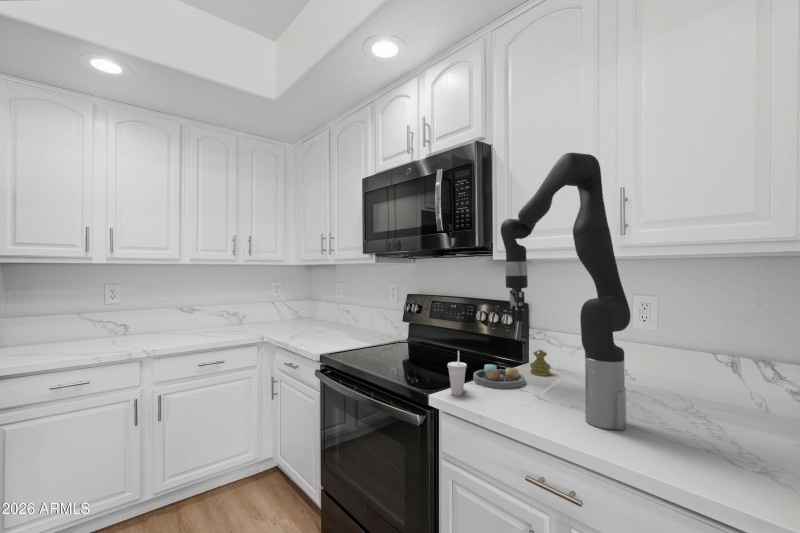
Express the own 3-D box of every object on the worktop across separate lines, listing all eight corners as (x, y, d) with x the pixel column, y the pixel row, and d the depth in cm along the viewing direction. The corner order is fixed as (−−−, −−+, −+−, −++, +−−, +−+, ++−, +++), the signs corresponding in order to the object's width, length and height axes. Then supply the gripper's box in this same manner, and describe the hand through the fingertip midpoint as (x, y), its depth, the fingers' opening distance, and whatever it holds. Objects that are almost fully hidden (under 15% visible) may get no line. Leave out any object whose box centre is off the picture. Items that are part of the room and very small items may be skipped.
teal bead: (498, 377, 139) (498, 365, 139) (493, 380, 135) (493, 367, 135) (487, 375, 142) (487, 363, 142) (482, 378, 138) (482, 366, 138)
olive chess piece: (527, 373, 147) (526, 348, 148) (545, 373, 148) (545, 348, 148) (534, 379, 140) (534, 352, 140) (554, 378, 141) (554, 352, 141)
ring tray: (531, 382, 136) (531, 374, 136) (514, 395, 122) (513, 386, 122) (485, 374, 147) (485, 366, 147) (464, 385, 132) (464, 376, 132)
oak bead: (517, 380, 135) (517, 367, 135) (519, 383, 131) (519, 371, 131) (504, 379, 136) (504, 367, 136) (506, 383, 132) (506, 370, 132)
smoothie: (461, 398, 119) (461, 354, 120) (443, 394, 123) (443, 351, 123) (470, 392, 125) (470, 350, 125) (453, 389, 128) (453, 348, 129)
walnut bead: (496, 387, 127) (496, 374, 127) (484, 384, 130) (484, 372, 130) (501, 383, 131) (501, 371, 131) (489, 381, 134) (489, 369, 134)
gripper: (531, 274, 127) (532, 322, 127) (523, 274, 141) (523, 317, 141) (509, 274, 128) (509, 322, 127) (502, 274, 142) (503, 317, 142)
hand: (517, 320), depth 134 cm, fingers open, 8 cm apart
